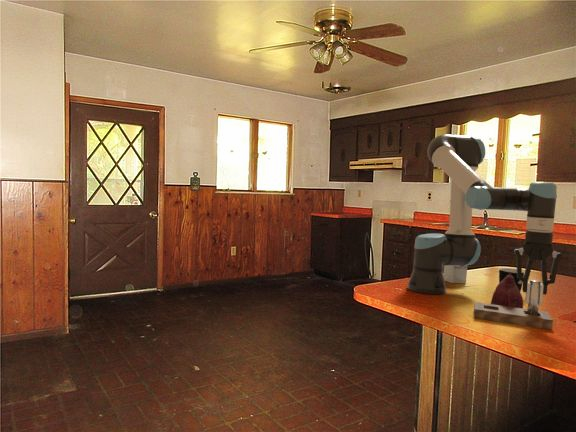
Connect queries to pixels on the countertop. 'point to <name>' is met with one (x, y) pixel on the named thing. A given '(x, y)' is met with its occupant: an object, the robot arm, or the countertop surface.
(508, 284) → the vegetable
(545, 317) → the board
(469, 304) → the countertop surface
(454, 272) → the supplement box
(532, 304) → the pin
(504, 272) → the mug
